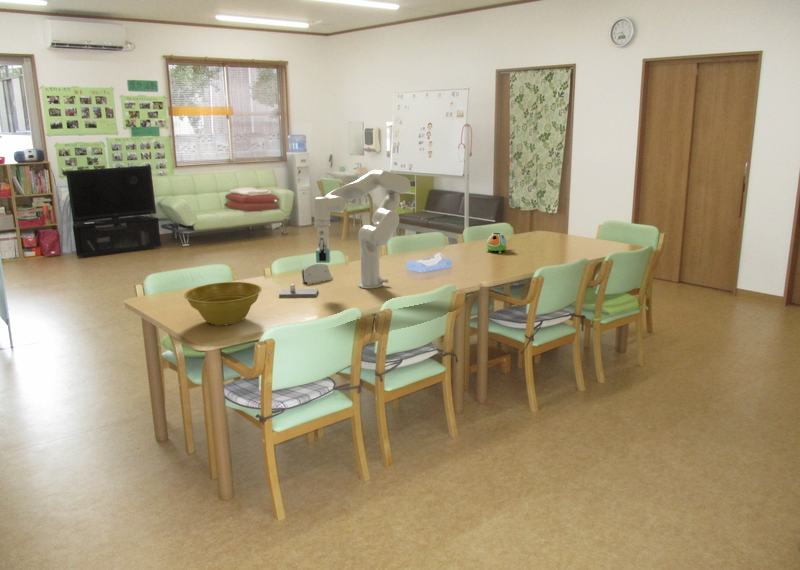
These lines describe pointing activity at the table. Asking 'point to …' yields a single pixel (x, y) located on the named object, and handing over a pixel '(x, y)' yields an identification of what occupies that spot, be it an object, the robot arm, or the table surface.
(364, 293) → the table surface
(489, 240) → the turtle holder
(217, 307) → the planter bowl
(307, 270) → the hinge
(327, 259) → the housing
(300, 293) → the base plate
